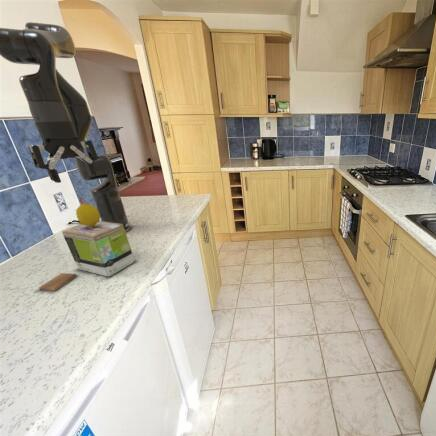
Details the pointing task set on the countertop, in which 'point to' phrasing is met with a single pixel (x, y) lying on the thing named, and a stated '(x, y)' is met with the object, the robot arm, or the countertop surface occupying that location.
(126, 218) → the robot arm
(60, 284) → the tea sachet
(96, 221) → the lemon
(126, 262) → the tea box
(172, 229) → the countertop surface
